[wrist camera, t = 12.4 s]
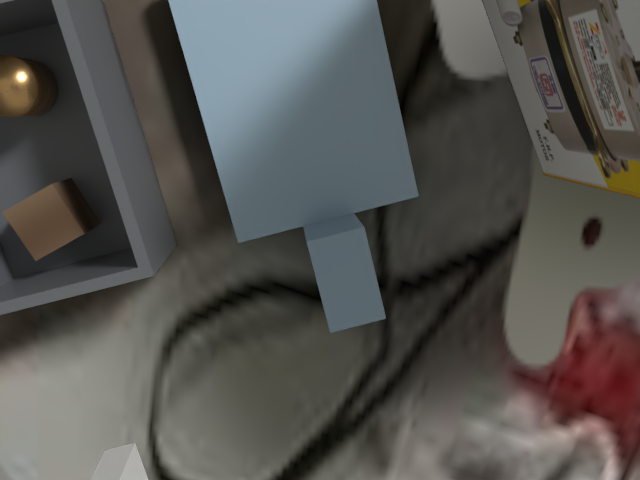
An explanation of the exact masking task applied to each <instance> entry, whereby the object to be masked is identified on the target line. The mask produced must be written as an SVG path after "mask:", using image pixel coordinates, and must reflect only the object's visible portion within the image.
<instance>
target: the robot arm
mask: <svg viewBox="0 0 640 480" xmlns="http://www.w3.org/2000/svg"><path fill="white" fill-rule="evenodd" d="M91 480H148V478H147V475H146V472H145V469H144V467H143V464H142V461H141V458H140V455H139V452H138V450H137V447H136V444H135V443H132V444H128V445H124V446H120V447H117V448H113V449H109V450H105V452H104V454H103V456H102V458H101V460H100V462H99V464H98V466H97V468H96V470H95V472H94V474H93V476H92V478H91Z"/></svg>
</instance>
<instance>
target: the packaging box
mask: <svg viewBox="0 0 640 480" xmlns="http://www.w3.org/2000/svg"><path fill="white" fill-rule="evenodd" d="M482 2H483V5H484V7H485V10H486V13H487V16H488V19H489V22H490V24H491V27H492V30H493V33H494V35H495V39H496V41H497V44H498V47H499V50H500V52H501V55H502V58H503V61H504V64H505V67H506V69H507V72H508V75H509V78H510V81H511V83H512V86H513V89H514V92H515V95H516V98H517V100H518V103H519V106H520V109H521V112H522V114H523V117H524V120H525V123H526V126H527V128H528V131H529V134H530V137H531V140H532V142H533V145H534V148H535V151H536V154H537V157H538V159H539V162H540V165H541V168H542V171H543V173H544V175H546V176H551V177H554V178H559V179H563V180H567V181H571V182H575V183H580V184H584V185H588V186H592V187H596V188H601V189H604V190H609V191H613V192H617V193H622V194H625V195H630V196H634V197H638V198H640V0H482Z"/></svg>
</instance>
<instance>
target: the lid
mask: <svg viewBox="0 0 640 480" xmlns="http://www.w3.org/2000/svg"><path fill="white" fill-rule="evenodd" d="M168 1H169V4H170V8H171V11H172V15H173V18H174V22H175V25H176V29H177V32H178V36H179V39H180V43H181V46H182V50H183V53H184V57H185V60H186V64H187V67H188V70H189V74H190V77H191V81H192V84H193V88H194V91H195V95H196V98H197V102H198V105H199V109H200V112H201V116H202V119H203V123H204V126H205V130H206V133H207V137H208V140H209V143H210V147H211V150H212V154H213V157H214V161H215V164H216V168H217V171H218V175H219V178H220V182H221V185H222V189H223V192H224V196H225V199H226V203H227V206H228V210H229V213H230V216H231V220H232V223H233V227H234V230H235V234H236V237H237V241H238V243H241V242H245V241H249V240H252V239H256V238H260V237H264V236H268V235H272V234H276V233H280V232H283V231H287V230H291V229H295V228H299V227H303V228H304V233H305V238H306V242H307V246H308V250H309V254H310V258H311V262H312V265H313V269H314V273H315V277H316V281H317V285H318V288H319V292H320V296H321V300H322V304H323V307H324V311H325V315H326V319H327V323H328V327H329V330H330V333H333V332H337V331H341V330H345V329H349V328H352V327H356V326H360V325H364V324H368V323H371V322H375V321H379V320H383V319H386V316H385V311H384V307H383V303H382V299H381V295H380V290H379V286H378V282H377V278H376V273H375V269H374V265H373V261H372V257H371V252H370V248H369V244H368V240H367V236H366V231H365V227H364V226H363V224H362V223H361V222H360V220H359V219H358V218H357V216H356V215H355V214H354V213H357V212H361V211H365V210H368V209H372V208H376V207H380V206H384V205H388V204H392V203H396V202H399V201H403V200H407V199H411V198H415V197H419V195H418V190H417V186H416V181H415V176H414V172H413V167H412V162H411V158H410V153H409V148H408V144H407V139H406V135H405V130H404V125H403V121H402V116H401V111H400V107H399V102H398V97H397V93H396V88H395V83H394V79H393V74H392V69H391V65H390V60H389V55H388V51H387V46H386V41H385V37H384V32H383V27H382V23H381V18H380V13H379V9H378V4H377V0H168Z"/></svg>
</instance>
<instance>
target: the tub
mask: <svg viewBox="0 0 640 480" xmlns="http://www.w3.org/2000/svg"><path fill="white" fill-rule="evenodd" d="M0 55H10V56H15V57H20V58H25V59H29V60H34V61H37V62H40V63H42V64H43V65H45V66H46V67H47V68H49V69H50V70H51V72H52V73H53V74H54V76H55V78H56V80H57V84H58V98H57V101H56V103H55V105H54V106H53V108H52V109H51V110H50V111H48V112H47V113H45V114H43V115H40V116H28V117H4V116H0V315H3V314H6V313H10V312H14V311H18V310H22V309H26V308H30V307H34V306H38V305H42V304H46V303H50V302H54V301H58V300H62V299H66V298H69V297H73V296H77V295H81V294H85V293H89V292H93V291H97V290H101V289H105V288H109V287H113V286H117V285H121V284H125V283H129V282H132V281H136V280H140V279H144V278H148V277H152V276H154V275H155V274H156V273H157V271H158V270H159V269H160V267H161V266H162V265H163V263H164V262H165V261H166V259H167V258H168V257H169V255H170V254H171V253H172V252H173V250H174V249H175V248H176V246H177V241H176V238H175V235H174V231H173V228H172V225H171V222H170V218H169V215H168V212H167V209H166V205H165V202H164V199H163V195H162V192H161V189H160V186H159V182H158V179H157V176H156V173H155V169H154V166H153V163H152V159H151V156H150V153H149V150H148V146H147V143H146V140H145V137H144V133H143V130H142V127H141V123H140V120H139V117H138V114H137V110H136V107H135V104H134V101H133V97H132V94H131V91H130V87H129V84H128V81H127V78H126V74H125V71H124V68H123V65H122V61H121V58H120V55H119V51H118V48H117V45H116V42H115V38H114V35H113V32H112V29H111V25H110V22H109V19H108V15H107V12H106V9H105V6H104V2H102V1H101V0H0ZM69 178H72V180H73V181H74V183H75V184H76V186H77V187H78V189H79V190H80V192H81V194H82V195H83V197H84V198H85V200H86V201H87V203H88V204H89V206H90V207H91V209H92V210H93V212H94V213H95V215H96V217H97V218H98V220H99V221H100V223H101V224H99V225H98V226H96V227H94V228H93V229H91V230H90V231H88V232H86V233H85V234H83V235H81V236H80V237H78V238H76V239H74V240H72V241H71V242H69V243H67V244H65V245H64V246H62V247H60V248H58V249H56V250H55V251H53V252H51V253H49V254H48V255H46V256H44V257H42V258H40V259H39V260H37V261H35V259H34V258H33V257H32V255H31V254H30V252H29V251H28V249H27V248H26V246H25V245H24V243H23V242H22V241H21V239H20V238H19V236H18V235H17V233H16V232H15V230H14V229H13V228H12V226H11V225H10V223H9V222H8V220H7V219H6V217H5V216H4V214H3V213H2V212H3V211H5V210H7V209H9V208H10V207H12V206H14V205H16V204H17V203H19V202H21V201H23V200H24V199H26V198H28V197H30V196H31V195H33V194H35V193H37V192H38V191H40V190H42V189H44V188H45V187H47V186H49V185H51V184H53V183H56V182H59V181H62V180H66V179H69Z"/></svg>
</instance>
